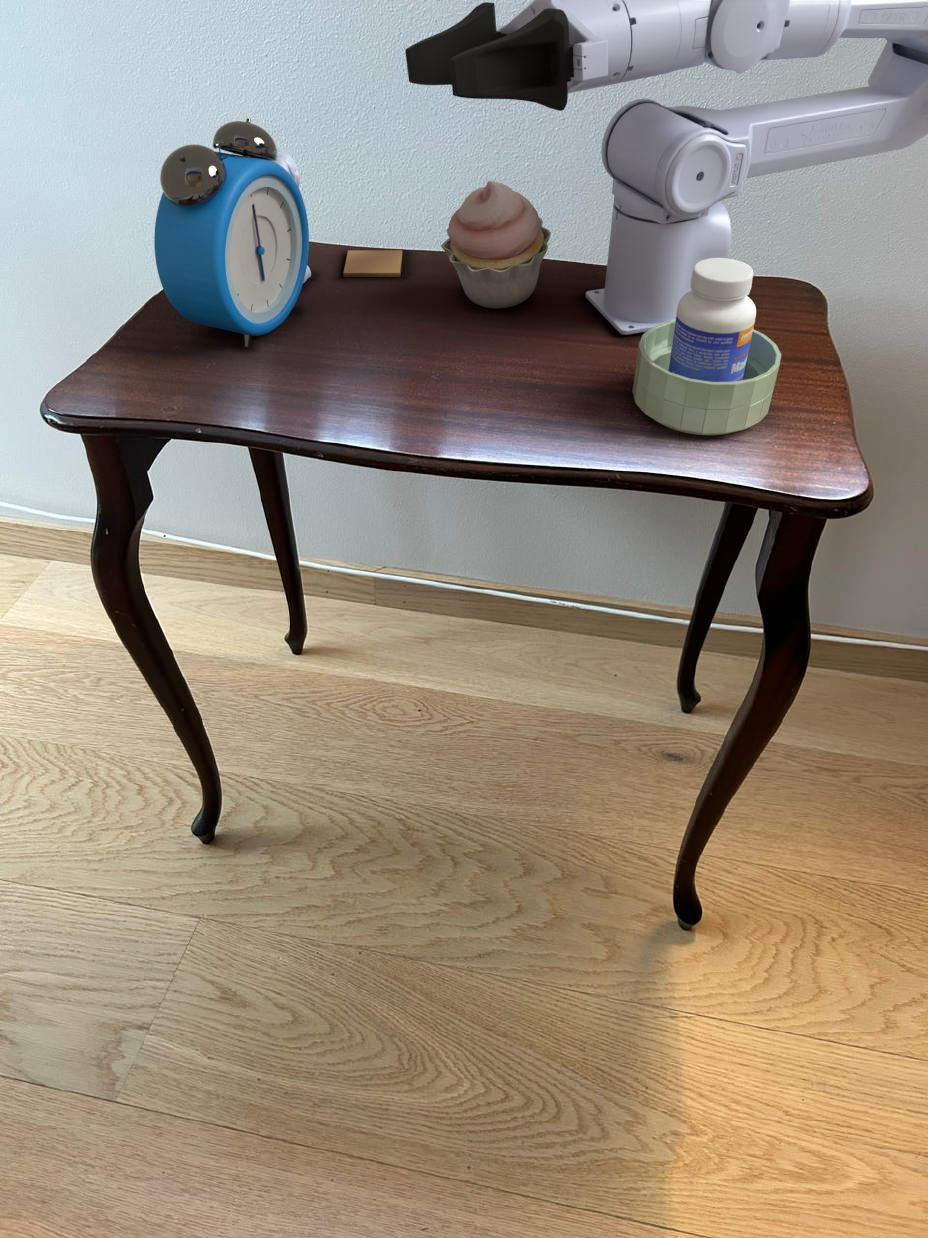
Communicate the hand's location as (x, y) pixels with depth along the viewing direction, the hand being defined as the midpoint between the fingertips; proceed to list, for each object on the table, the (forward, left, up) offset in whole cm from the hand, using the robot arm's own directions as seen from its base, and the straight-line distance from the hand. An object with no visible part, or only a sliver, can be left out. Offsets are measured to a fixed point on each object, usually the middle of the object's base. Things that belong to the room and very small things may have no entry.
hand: (429, 71), depth 63 cm
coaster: (+1, -19, -20) cm, 28 cm away
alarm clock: (+14, -10, -21) cm, 27 cm away
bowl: (-16, +13, -20) cm, 29 cm away
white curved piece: (+10, -18, -21) cm, 29 cm away
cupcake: (-8, -9, -20) cm, 23 cm away
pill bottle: (-16, +13, -20) cm, 29 cm away
